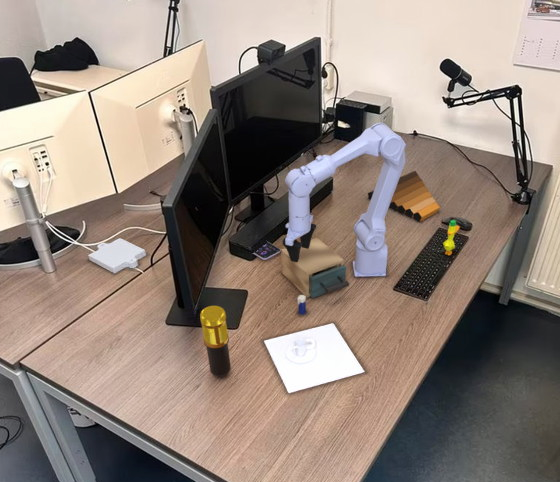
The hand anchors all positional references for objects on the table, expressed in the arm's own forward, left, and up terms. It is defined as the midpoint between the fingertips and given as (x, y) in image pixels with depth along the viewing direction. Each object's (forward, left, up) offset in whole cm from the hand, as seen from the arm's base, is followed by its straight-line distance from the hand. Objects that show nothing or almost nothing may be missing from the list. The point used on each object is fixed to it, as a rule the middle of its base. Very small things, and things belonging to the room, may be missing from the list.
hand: (300, 254), depth 161 cm
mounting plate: (+60, -16, -10) cm, 63 cm away
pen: (0, +14, -10) cm, 18 cm away
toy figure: (-47, -14, -10) cm, 51 cm away
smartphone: (+14, -20, -10) cm, 26 cm away
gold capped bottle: (+23, +41, -10) cm, 48 cm away
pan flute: (-43, -51, -10) cm, 68 cm away
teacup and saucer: (-2, +32, -10) cm, 34 cm away
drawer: (-6, +2, -9) cm, 11 cm away
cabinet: (-3, -2, -10) cm, 11 cm away
